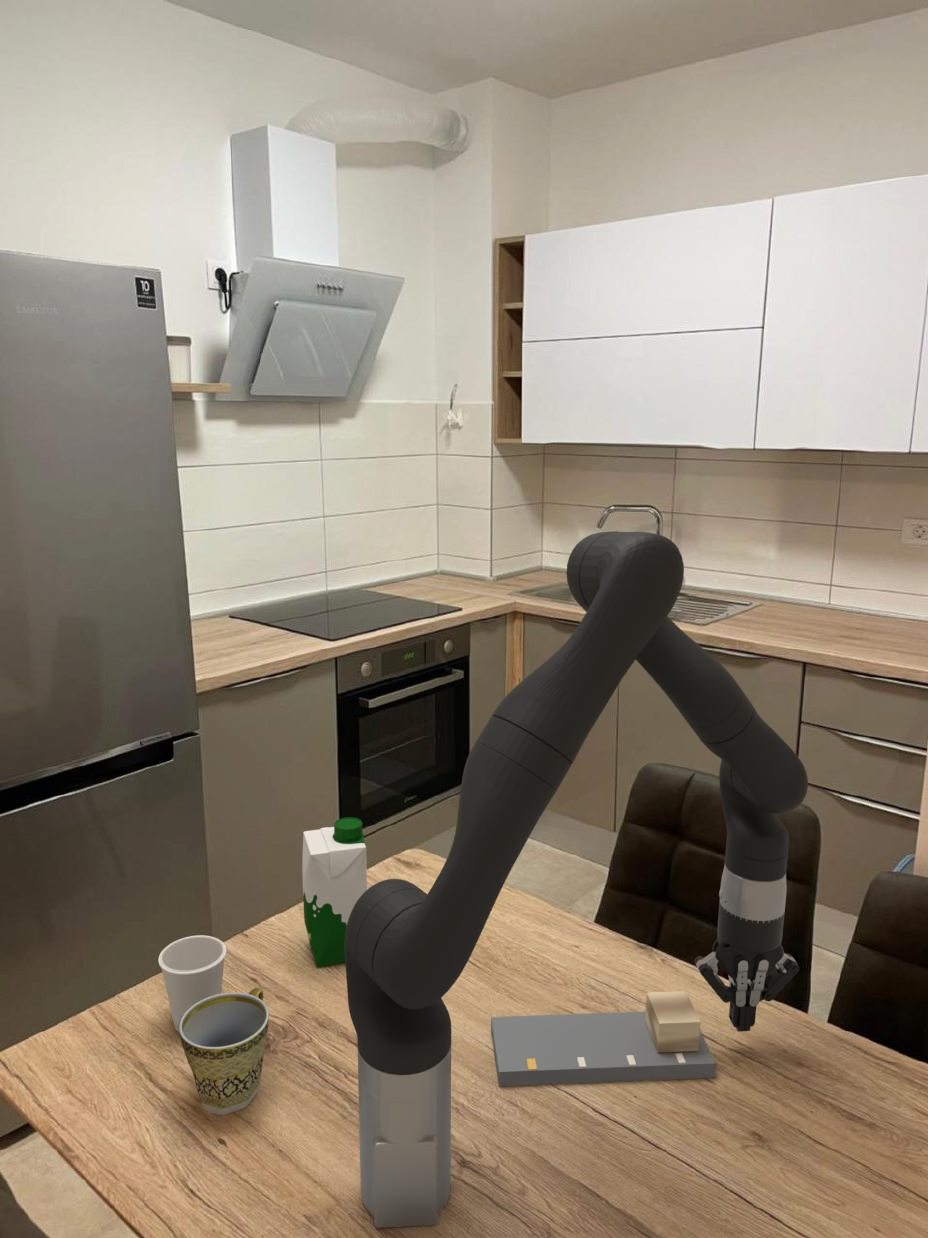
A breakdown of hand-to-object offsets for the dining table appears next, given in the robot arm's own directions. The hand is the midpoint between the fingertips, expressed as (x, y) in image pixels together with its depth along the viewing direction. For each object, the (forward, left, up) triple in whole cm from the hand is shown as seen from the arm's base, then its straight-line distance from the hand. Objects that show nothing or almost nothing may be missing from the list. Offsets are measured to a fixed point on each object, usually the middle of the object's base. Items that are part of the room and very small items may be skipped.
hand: (741, 1027), depth 115 cm
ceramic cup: (-3, +62, -3) cm, 62 cm away
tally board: (0, +18, -3) cm, 18 cm away
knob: (0, +9, -1) cm, 9 cm away
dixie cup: (+9, +69, -3) cm, 70 cm away
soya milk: (+24, +52, -3) cm, 57 cm away
